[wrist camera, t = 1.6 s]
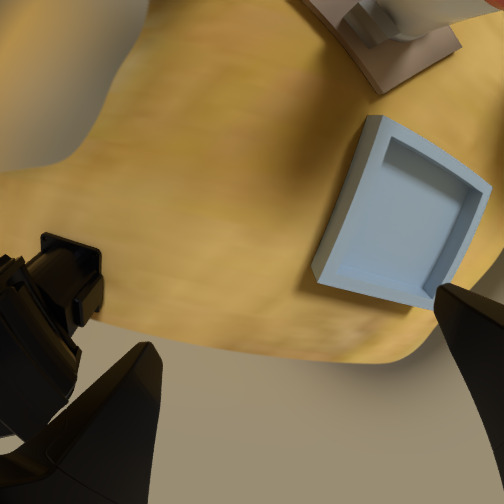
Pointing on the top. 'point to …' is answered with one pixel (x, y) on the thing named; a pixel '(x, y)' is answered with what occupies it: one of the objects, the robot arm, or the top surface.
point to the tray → (400, 217)
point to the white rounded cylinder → (433, 14)
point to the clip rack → (381, 41)
